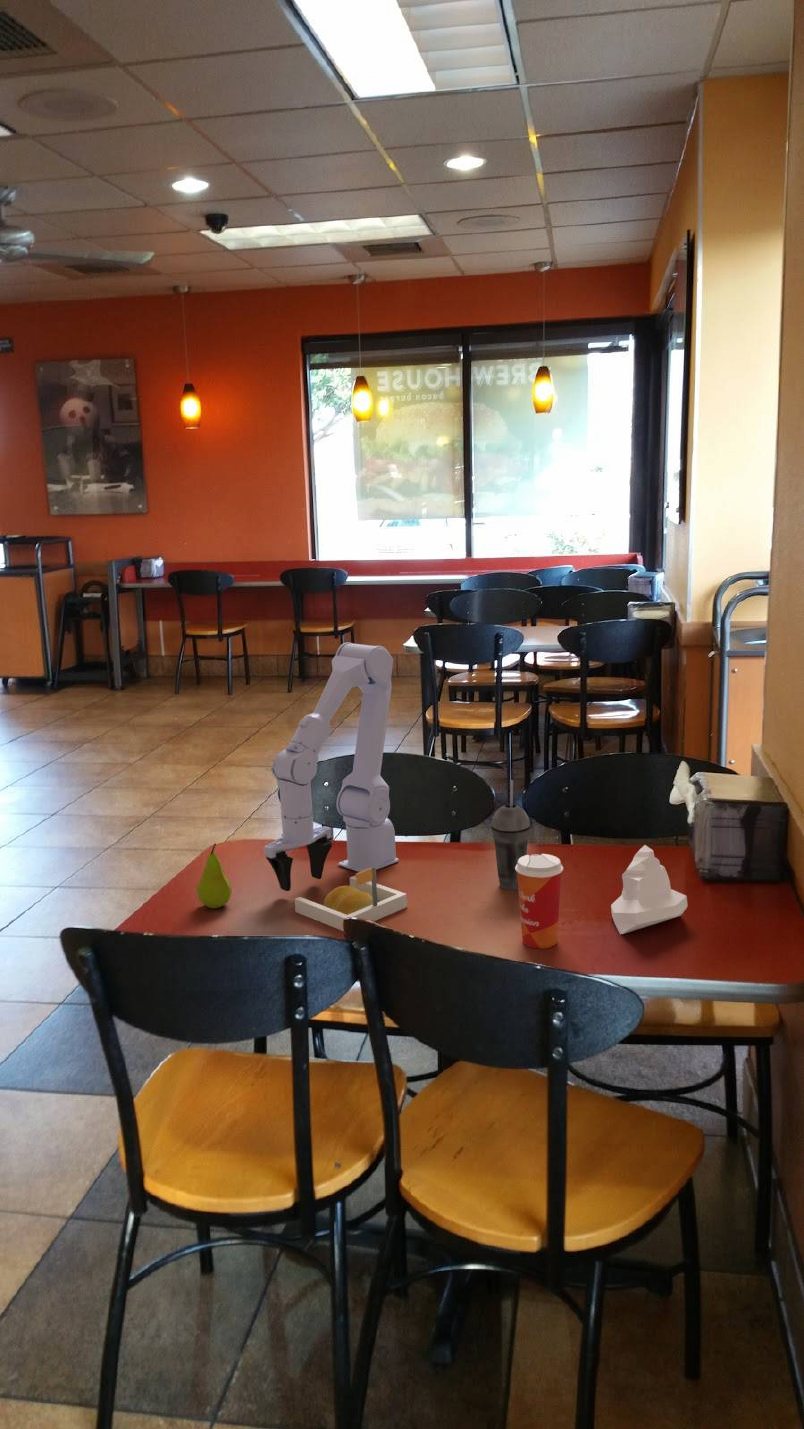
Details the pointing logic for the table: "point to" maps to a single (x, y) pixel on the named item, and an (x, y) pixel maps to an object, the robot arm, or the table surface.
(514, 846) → the beverage cup
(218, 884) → the fruit
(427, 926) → the table surface
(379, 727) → the robot arm
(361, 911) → the pocket
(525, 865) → the paper cup
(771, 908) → the table surface
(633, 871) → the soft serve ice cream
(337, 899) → the bread roll
